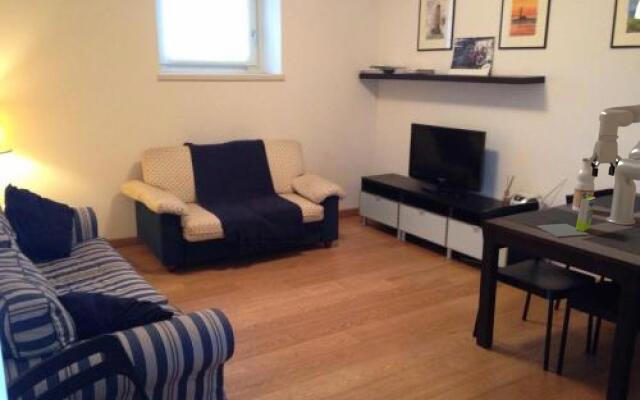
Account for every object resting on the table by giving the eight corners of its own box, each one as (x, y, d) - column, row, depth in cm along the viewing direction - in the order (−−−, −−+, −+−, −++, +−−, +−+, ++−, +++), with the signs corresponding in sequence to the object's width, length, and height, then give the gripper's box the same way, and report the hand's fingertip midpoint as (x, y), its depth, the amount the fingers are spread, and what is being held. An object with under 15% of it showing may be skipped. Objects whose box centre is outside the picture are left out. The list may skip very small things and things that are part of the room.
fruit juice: (569, 210, 294) (574, 158, 287) (576, 207, 300) (582, 156, 293) (587, 213, 287) (593, 161, 280) (594, 210, 293) (600, 158, 287)
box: (583, 231, 255) (590, 195, 251) (574, 229, 257) (581, 194, 253) (590, 228, 263) (597, 193, 259) (581, 226, 265) (588, 191, 261)
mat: (566, 224, 268) (566, 223, 268) (588, 235, 252) (588, 234, 252) (536, 226, 265) (536, 225, 265) (557, 237, 249) (557, 236, 249)
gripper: (618, 136, 256) (613, 173, 260) (585, 138, 253) (581, 175, 257) (630, 138, 249) (625, 176, 253) (595, 140, 246) (591, 178, 250)
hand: (602, 175), depth 255 cm, fingers open, 8 cm apart
